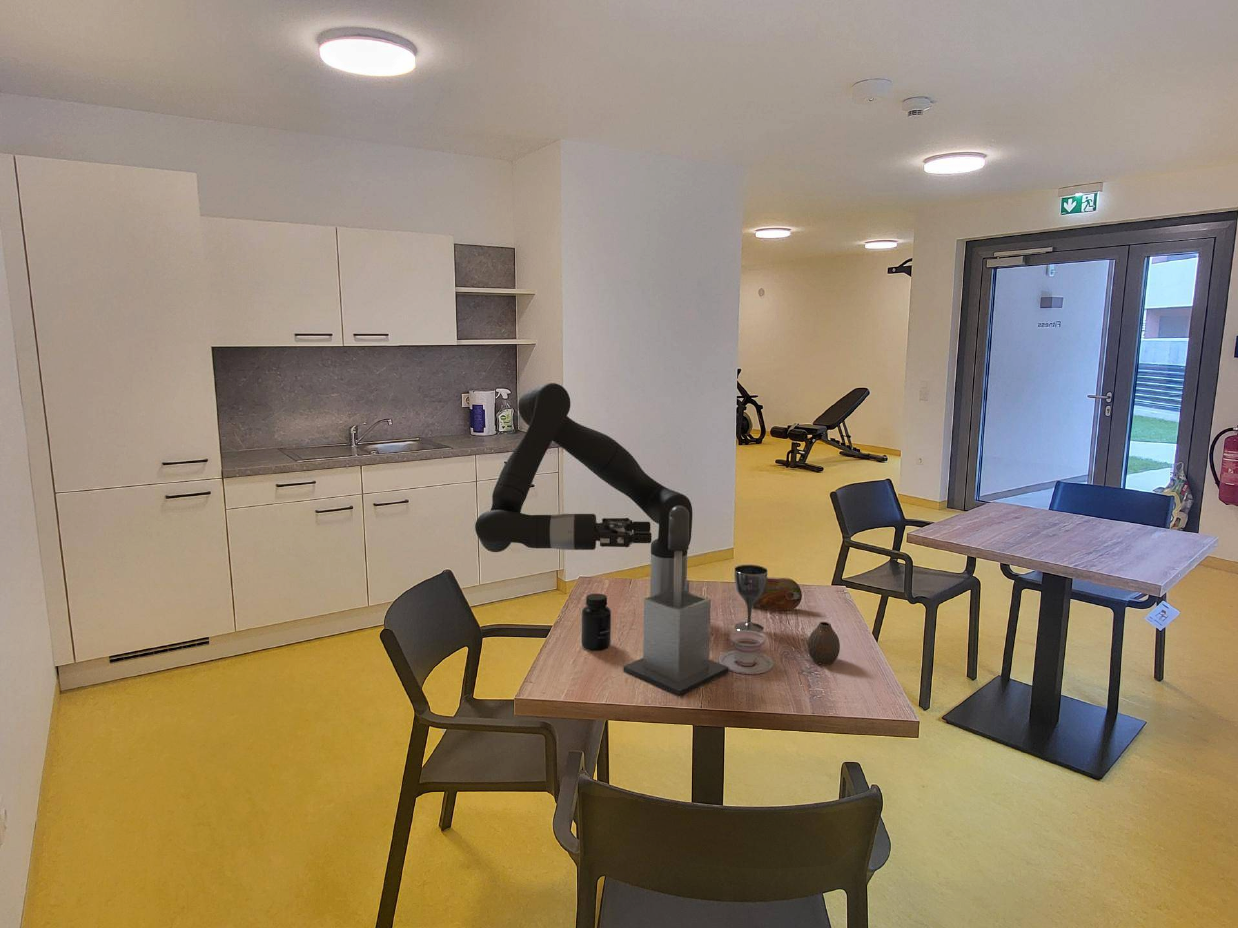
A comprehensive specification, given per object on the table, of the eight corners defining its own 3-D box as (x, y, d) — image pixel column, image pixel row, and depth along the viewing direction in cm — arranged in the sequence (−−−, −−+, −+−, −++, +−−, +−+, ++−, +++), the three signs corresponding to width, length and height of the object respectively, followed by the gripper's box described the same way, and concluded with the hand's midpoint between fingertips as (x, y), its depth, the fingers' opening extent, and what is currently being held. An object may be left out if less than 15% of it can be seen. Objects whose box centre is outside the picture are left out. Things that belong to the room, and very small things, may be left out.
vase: (839, 656, 170) (842, 620, 169) (838, 669, 164) (840, 631, 162) (808, 652, 173) (810, 616, 171) (805, 664, 166) (807, 627, 165)
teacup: (769, 678, 160) (770, 651, 158) (713, 670, 163) (714, 643, 162) (776, 656, 171) (777, 630, 170) (723, 649, 174) (724, 623, 173)
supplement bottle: (607, 653, 172) (607, 602, 170) (578, 650, 173) (578, 600, 171) (613, 641, 178) (613, 592, 176) (585, 638, 180) (585, 590, 178)
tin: (743, 607, 201) (744, 577, 200) (743, 603, 204) (745, 573, 203) (801, 612, 198) (802, 581, 196) (801, 608, 201) (802, 577, 199)
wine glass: (729, 630, 185) (731, 572, 182) (736, 619, 192) (738, 563, 190) (761, 635, 182) (763, 576, 180) (767, 624, 189) (770, 566, 187)
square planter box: (672, 650, 173) (674, 581, 171) (728, 672, 162) (730, 599, 159) (623, 671, 162) (623, 598, 159) (679, 696, 151) (681, 618, 148)
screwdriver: (675, 610, 166) (677, 500, 161) (702, 620, 160) (706, 506, 156) (651, 619, 160) (652, 505, 156) (678, 630, 155) (681, 511, 151)
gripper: (570, 522, 150) (652, 523, 149) (575, 506, 164) (650, 506, 163) (570, 559, 151) (651, 559, 151) (575, 539, 165) (649, 540, 165)
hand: (650, 532), depth 157 cm, fingers open, 8 cm apart
